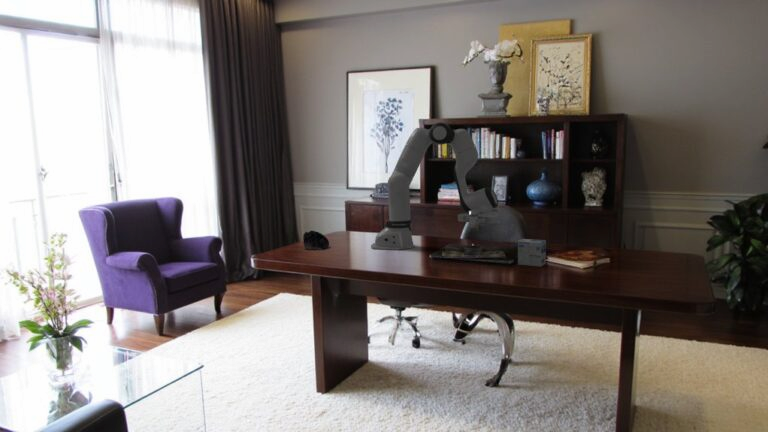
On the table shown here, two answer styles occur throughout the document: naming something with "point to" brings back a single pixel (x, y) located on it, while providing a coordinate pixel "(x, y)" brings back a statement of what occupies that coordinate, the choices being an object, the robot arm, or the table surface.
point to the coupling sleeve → (473, 221)
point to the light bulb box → (532, 252)
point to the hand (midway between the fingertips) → (472, 220)
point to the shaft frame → (473, 251)
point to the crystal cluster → (315, 240)
